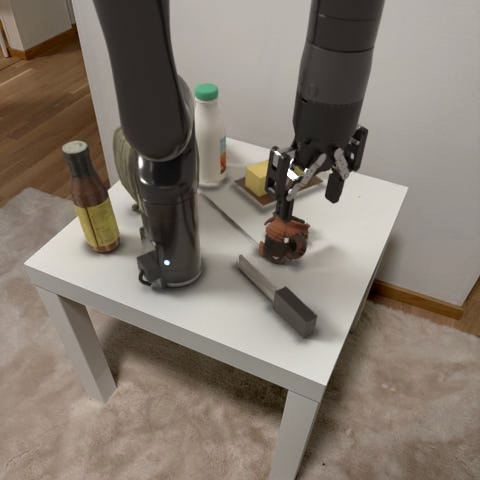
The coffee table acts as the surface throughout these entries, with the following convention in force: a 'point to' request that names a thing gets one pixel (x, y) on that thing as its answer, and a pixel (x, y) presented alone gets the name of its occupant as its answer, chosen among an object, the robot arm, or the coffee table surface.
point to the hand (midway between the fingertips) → (307, 209)
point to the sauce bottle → (91, 199)
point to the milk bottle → (210, 134)
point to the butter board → (267, 197)
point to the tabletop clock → (131, 164)
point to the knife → (282, 301)
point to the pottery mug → (277, 235)
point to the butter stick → (257, 178)
